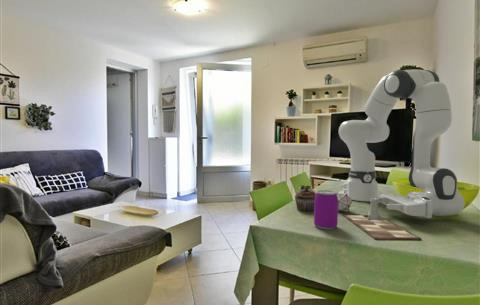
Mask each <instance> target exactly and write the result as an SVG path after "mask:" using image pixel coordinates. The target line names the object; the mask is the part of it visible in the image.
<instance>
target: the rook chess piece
mask: <svg viewBox="0 0 480 305" xmlns="http://www.w3.org/2000/svg"><path fill="white" fill-rule="evenodd" d="M369 202H370V204H369V205H370V208H369V211H368V213H367V215H368V217H366V218H367V219H369V220H381V219H380V218H379V217H380V216H381V215H380V213H379V210H378V207H379V203H378V202H379V200H378V198H376V199H375V198H374V199H373V197H371V199H370V201H369Z"/></svg>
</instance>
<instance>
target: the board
mask: <svg viewBox="0 0 480 305" xmlns="http://www.w3.org/2000/svg"><path fill="white" fill-rule="evenodd" d="M342 216H343V218H345V219H346V220H348V222H349V221H350V223H352V224H353V225H355V226H356V227H358V228H359V229H360V230H361V231H363V232H364V233H365V234H367V235H368V236H370V237H371V238H372V239H374V240H376V241H381V240H382V241H383V240H385V241H387V240H388V241H422V237H420V236H418V235H416V234H414V233H412V231H409V230H407V229H405V228H403V227H402V226H400V225H398V224H396V223H395V222H392V221H391V220H389V219H387V218H385V217H383V216H381V215H380V217H379V218H380V220H369V219H368V218H367V217H368V214H343V215H342Z"/></svg>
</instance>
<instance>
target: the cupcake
mask: <svg viewBox="0 0 480 305" xmlns="http://www.w3.org/2000/svg"><path fill="white" fill-rule="evenodd" d="M316 193H317V192H315V191H314V189H313V188H312V187H311V185H300V186H299V188H298V190H297V191H296V194H295V196H294V200H295V205H296V209H297V210H298V211H300V212H307V213H312V212H313V213H314V204H315V196H316Z"/></svg>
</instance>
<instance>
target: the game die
mask: <svg viewBox="0 0 480 305" xmlns="http://www.w3.org/2000/svg"><path fill="white" fill-rule="evenodd" d="M345 193H346V192H344V193H339V192H338V193H336V194H337V197H338V213H340V212H342V211H343V212H344V211H345V212H346V211H347V212H349V213H350V210H349V209H350V208H351V205H352V203H353V202H355V201H356V200H352V199H351V198H349V197H348V196H347V194H345Z"/></svg>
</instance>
